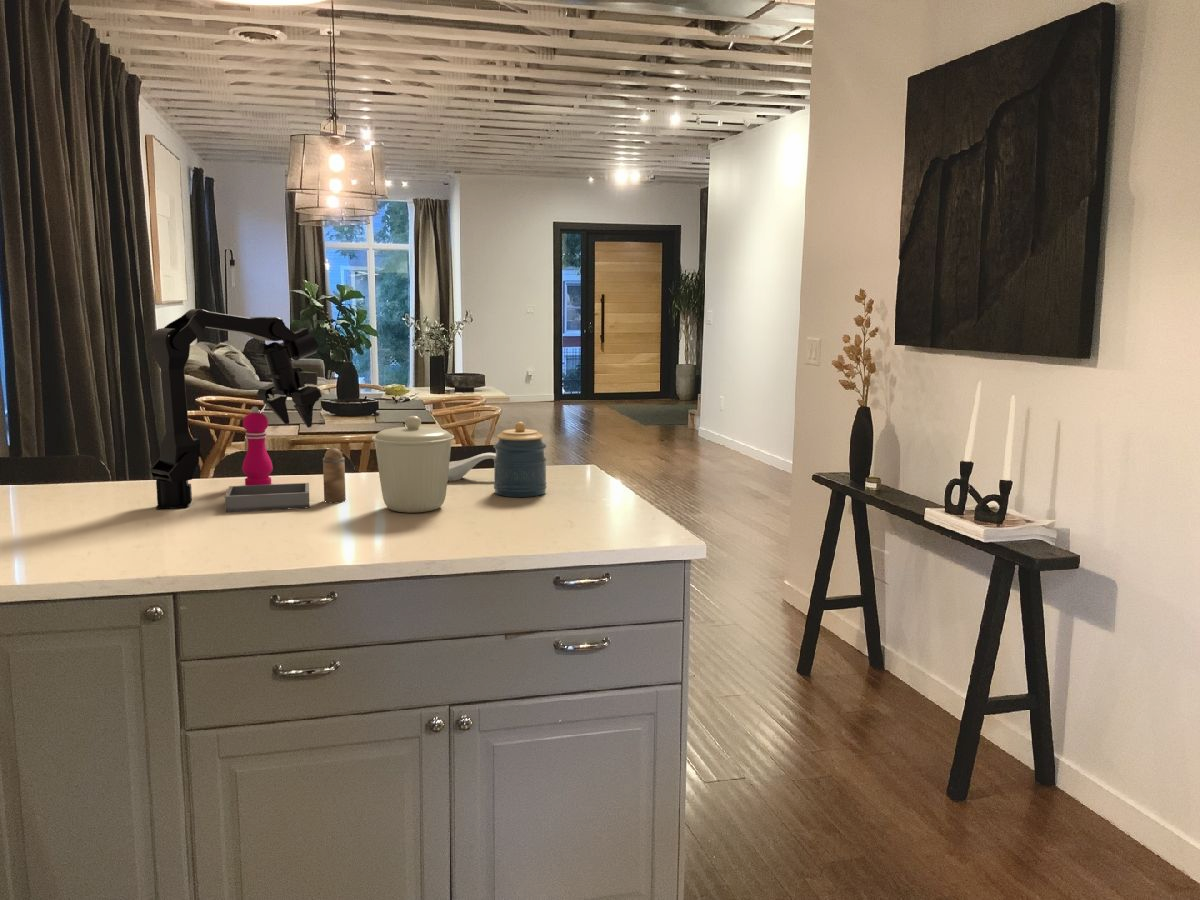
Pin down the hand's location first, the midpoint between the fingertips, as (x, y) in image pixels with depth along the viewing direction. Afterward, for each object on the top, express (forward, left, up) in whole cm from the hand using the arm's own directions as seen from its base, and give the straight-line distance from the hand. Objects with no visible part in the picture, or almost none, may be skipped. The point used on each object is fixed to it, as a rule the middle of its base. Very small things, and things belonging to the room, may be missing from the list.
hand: (298, 425), depth 237 cm
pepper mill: (-10, +2, -15) cm, 19 cm away
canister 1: (+25, -36, -15) cm, 46 cm away
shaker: (+8, -23, -15) cm, 28 cm away
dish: (-7, -23, -15) cm, 29 cm away
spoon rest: (+43, -2, -16) cm, 46 cm away
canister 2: (+52, -24, -15) cm, 59 cm away
